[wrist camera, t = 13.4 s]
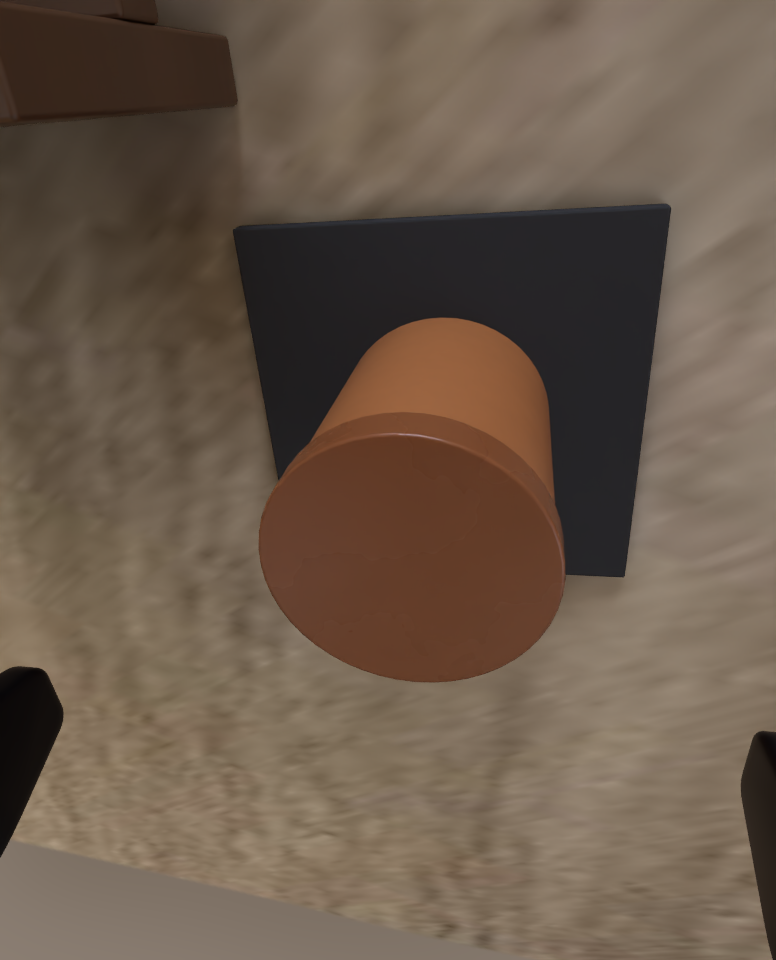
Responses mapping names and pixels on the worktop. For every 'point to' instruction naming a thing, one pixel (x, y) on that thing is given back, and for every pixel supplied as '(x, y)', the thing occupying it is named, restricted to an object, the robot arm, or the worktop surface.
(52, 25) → the walnut shelf
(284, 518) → the copper tin
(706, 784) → the worktop surface
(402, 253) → the black rubber mat
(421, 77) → the worktop surface
